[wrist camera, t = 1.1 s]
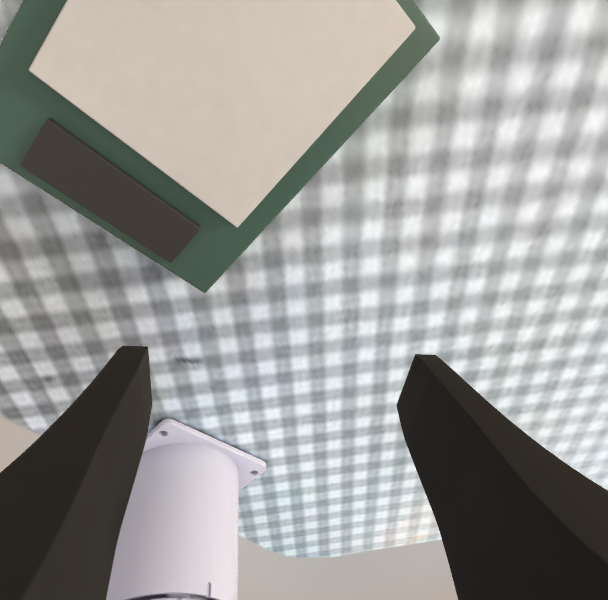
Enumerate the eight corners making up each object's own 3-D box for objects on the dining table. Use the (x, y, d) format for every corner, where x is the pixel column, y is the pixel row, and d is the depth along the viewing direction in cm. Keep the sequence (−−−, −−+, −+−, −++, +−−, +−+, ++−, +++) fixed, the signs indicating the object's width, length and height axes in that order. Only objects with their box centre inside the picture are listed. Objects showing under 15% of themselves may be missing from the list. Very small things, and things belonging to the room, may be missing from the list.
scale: (208, 268, 20) (204, 300, 18) (-14, 119, 16) (-56, 137, 14) (418, 35, 16) (447, 39, 14) (195, -265, 11) (183, -331, 9)
